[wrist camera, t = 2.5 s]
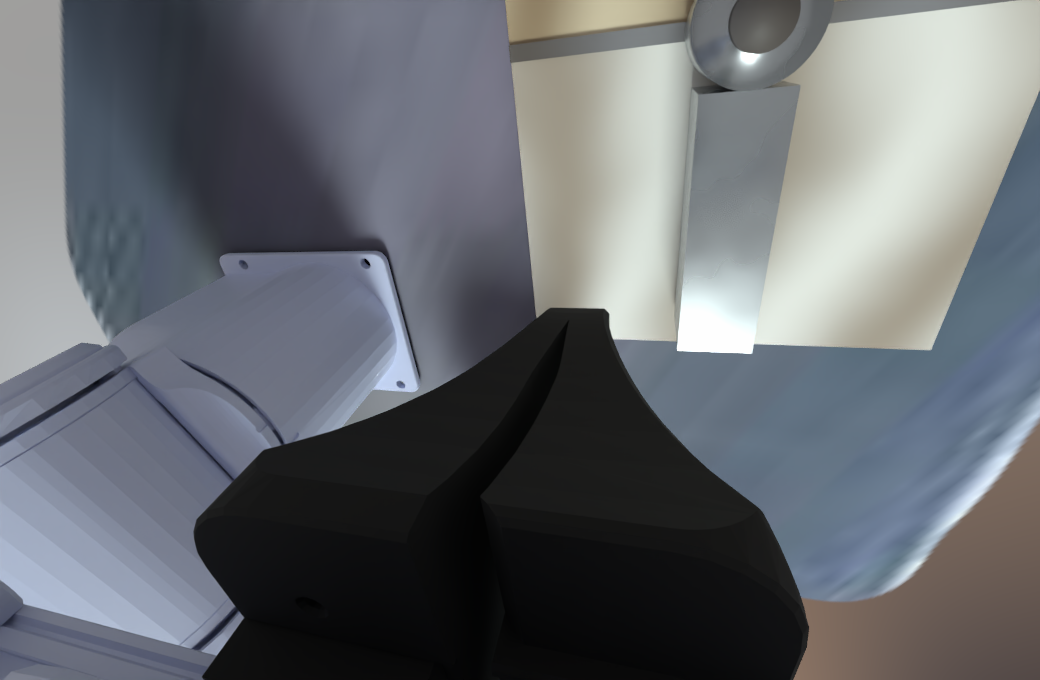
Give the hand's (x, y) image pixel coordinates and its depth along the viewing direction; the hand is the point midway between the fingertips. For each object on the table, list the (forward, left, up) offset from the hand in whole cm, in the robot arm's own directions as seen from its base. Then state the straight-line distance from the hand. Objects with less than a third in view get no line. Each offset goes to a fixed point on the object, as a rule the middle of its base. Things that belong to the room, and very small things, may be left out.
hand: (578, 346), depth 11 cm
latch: (+4, +2, -8) cm, 9 cm away
